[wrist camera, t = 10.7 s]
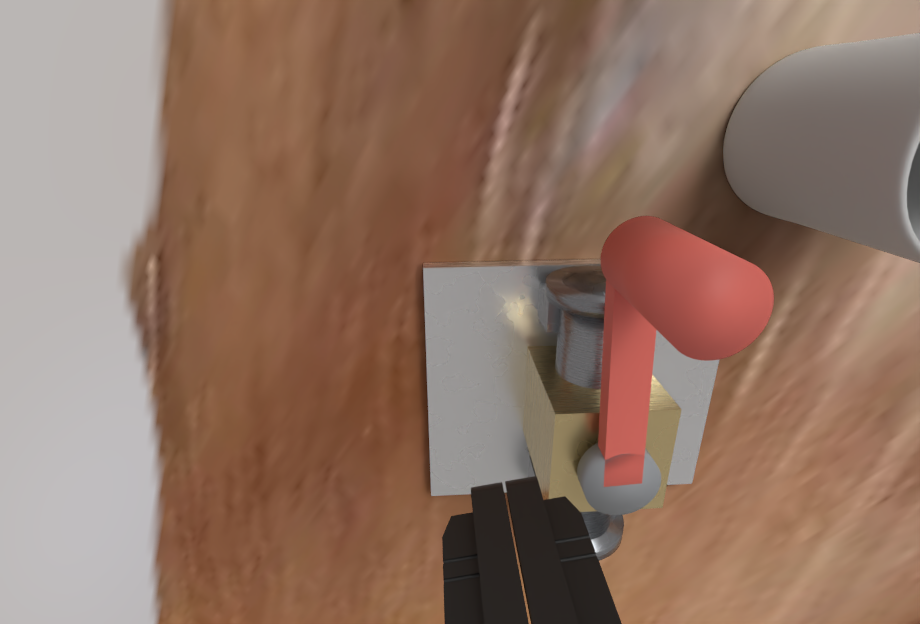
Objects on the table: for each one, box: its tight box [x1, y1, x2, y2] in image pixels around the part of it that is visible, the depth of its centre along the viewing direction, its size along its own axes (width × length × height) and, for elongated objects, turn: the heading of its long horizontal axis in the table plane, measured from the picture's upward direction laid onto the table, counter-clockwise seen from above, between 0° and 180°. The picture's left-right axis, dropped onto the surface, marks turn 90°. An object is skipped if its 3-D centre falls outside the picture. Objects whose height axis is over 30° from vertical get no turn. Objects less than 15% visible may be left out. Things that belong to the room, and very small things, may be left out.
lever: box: [577, 216, 774, 515], centre depth 19 cm, size 14×4×7 cm, turn 4°
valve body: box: [423, 259, 719, 560], centre depth 28 cm, size 16×18×8 cm
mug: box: [723, 33, 920, 263], centre depth 22 cm, size 12×8×11 cm
